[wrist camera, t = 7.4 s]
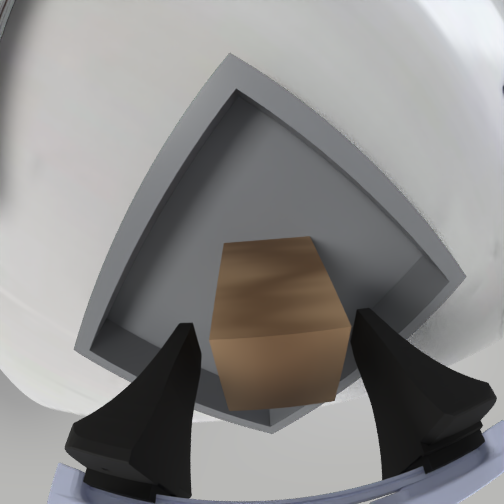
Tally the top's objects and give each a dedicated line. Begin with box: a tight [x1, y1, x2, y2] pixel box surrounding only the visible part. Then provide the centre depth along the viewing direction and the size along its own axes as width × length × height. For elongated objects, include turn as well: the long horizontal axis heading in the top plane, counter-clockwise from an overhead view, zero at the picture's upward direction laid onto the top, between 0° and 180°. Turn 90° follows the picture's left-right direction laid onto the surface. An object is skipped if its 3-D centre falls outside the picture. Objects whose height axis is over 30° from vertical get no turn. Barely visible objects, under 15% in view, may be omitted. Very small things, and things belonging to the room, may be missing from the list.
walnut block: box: [209, 236, 351, 411], centre depth 12 cm, size 4×4×7 cm
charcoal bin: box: [74, 53, 466, 434], centre depth 15 cm, size 16×18×4 cm
